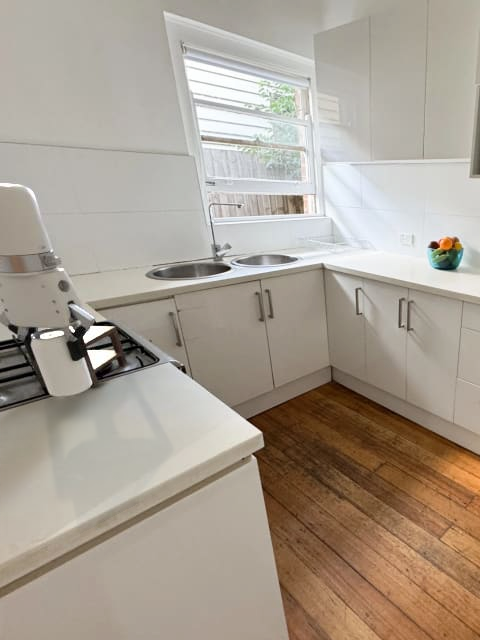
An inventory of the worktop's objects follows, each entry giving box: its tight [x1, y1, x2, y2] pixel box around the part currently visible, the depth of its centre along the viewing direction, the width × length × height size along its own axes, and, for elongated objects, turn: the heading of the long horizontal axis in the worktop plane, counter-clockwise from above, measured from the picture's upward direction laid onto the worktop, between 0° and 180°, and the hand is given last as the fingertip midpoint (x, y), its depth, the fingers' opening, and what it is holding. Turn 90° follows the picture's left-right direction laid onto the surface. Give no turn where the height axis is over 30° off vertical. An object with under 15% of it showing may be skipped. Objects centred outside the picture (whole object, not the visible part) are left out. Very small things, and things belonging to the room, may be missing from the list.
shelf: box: [24, 325, 128, 388], centre depth 85 cm, size 11×11×10 cm
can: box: [31, 328, 92, 398], centre depth 72 cm, size 6×6×12 cm
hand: (60, 356), depth 71 cm, fingers closed on can, 6 cm apart
